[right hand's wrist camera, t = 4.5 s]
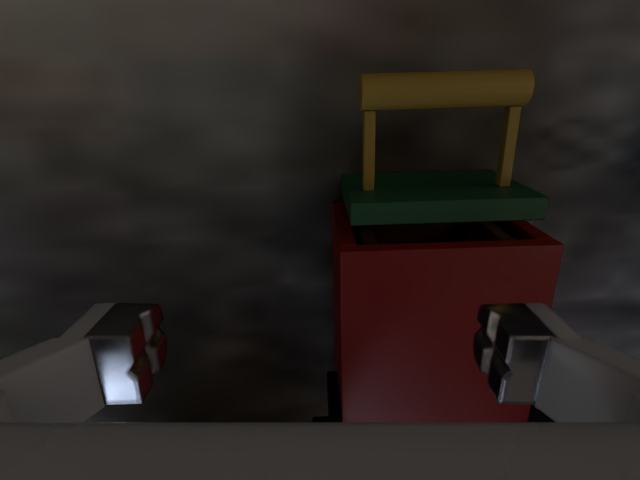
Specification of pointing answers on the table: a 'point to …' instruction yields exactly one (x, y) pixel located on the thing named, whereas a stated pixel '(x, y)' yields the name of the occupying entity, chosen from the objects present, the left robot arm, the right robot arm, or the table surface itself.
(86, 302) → the table surface
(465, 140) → the table surface
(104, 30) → the table surface
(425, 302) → the dark red block
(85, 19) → the table surface
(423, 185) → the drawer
